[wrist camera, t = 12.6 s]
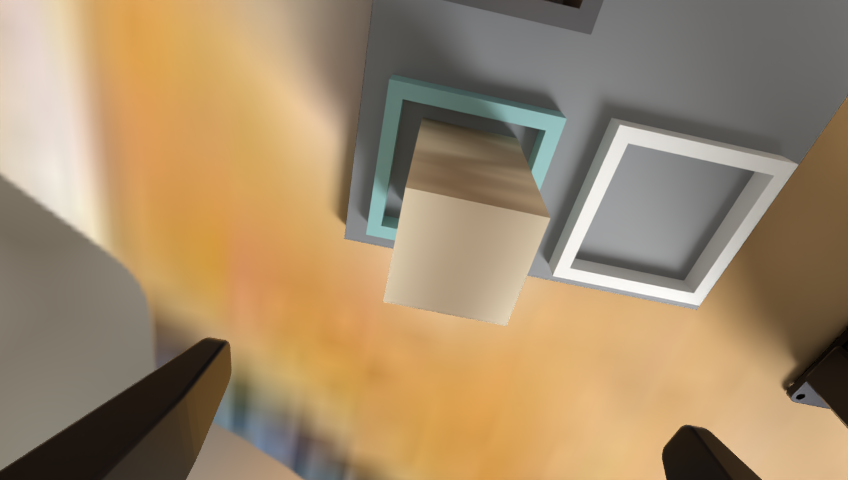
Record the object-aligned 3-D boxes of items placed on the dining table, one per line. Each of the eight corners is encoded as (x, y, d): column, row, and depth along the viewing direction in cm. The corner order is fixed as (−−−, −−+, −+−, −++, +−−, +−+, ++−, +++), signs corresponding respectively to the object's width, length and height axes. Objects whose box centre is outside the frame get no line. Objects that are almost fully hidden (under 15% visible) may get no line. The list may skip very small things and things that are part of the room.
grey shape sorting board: (991, -153, 13) (1153, -195, 10) (687, 297, 22) (723, 345, 19) (415, -309, 12) (402, -406, 9) (348, 228, 21) (331, 268, 18)
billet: (517, 138, 17) (550, 218, 11) (490, 221, 19) (506, 326, 14) (422, 117, 17) (405, 187, 11) (404, 203, 19) (382, 301, 13)
